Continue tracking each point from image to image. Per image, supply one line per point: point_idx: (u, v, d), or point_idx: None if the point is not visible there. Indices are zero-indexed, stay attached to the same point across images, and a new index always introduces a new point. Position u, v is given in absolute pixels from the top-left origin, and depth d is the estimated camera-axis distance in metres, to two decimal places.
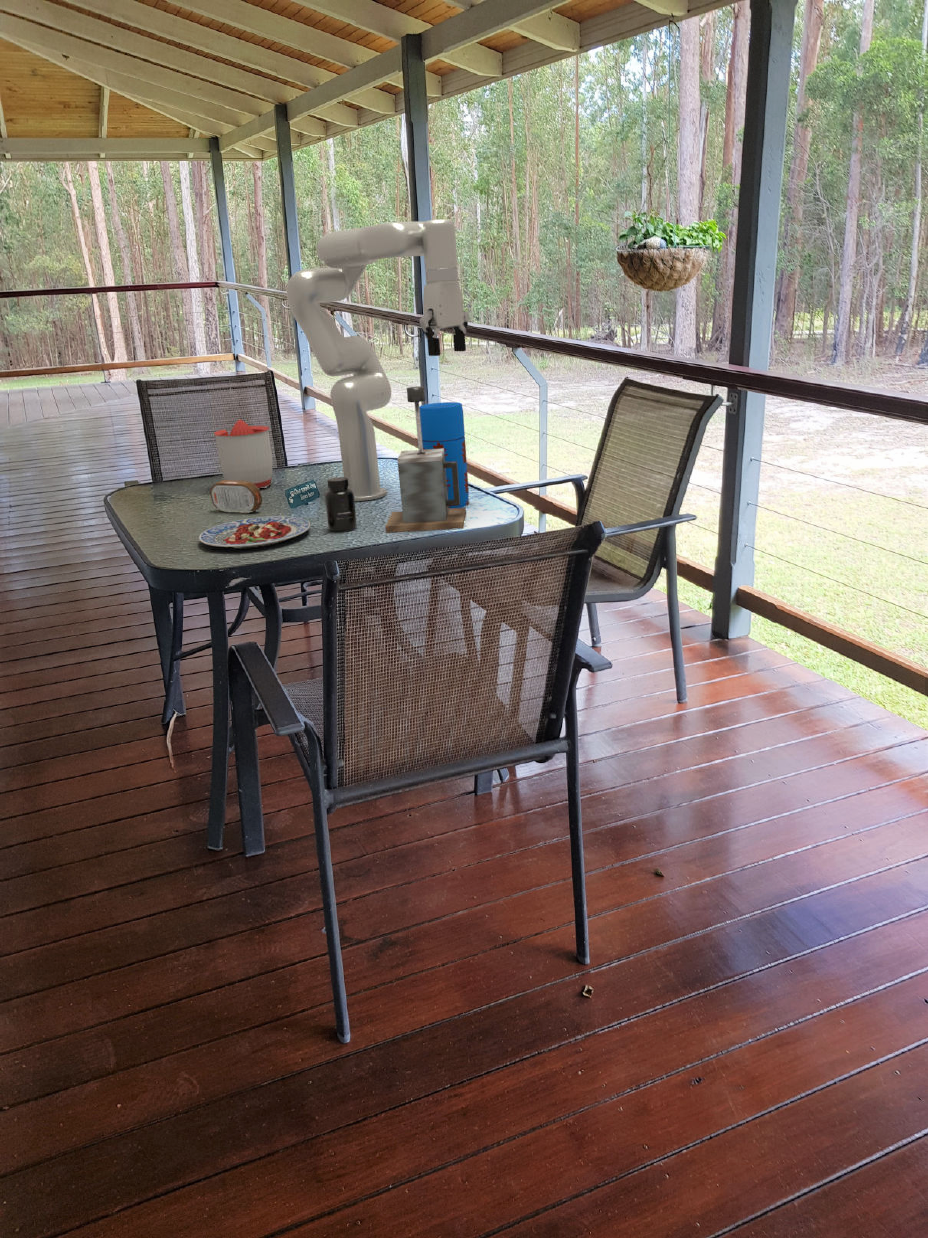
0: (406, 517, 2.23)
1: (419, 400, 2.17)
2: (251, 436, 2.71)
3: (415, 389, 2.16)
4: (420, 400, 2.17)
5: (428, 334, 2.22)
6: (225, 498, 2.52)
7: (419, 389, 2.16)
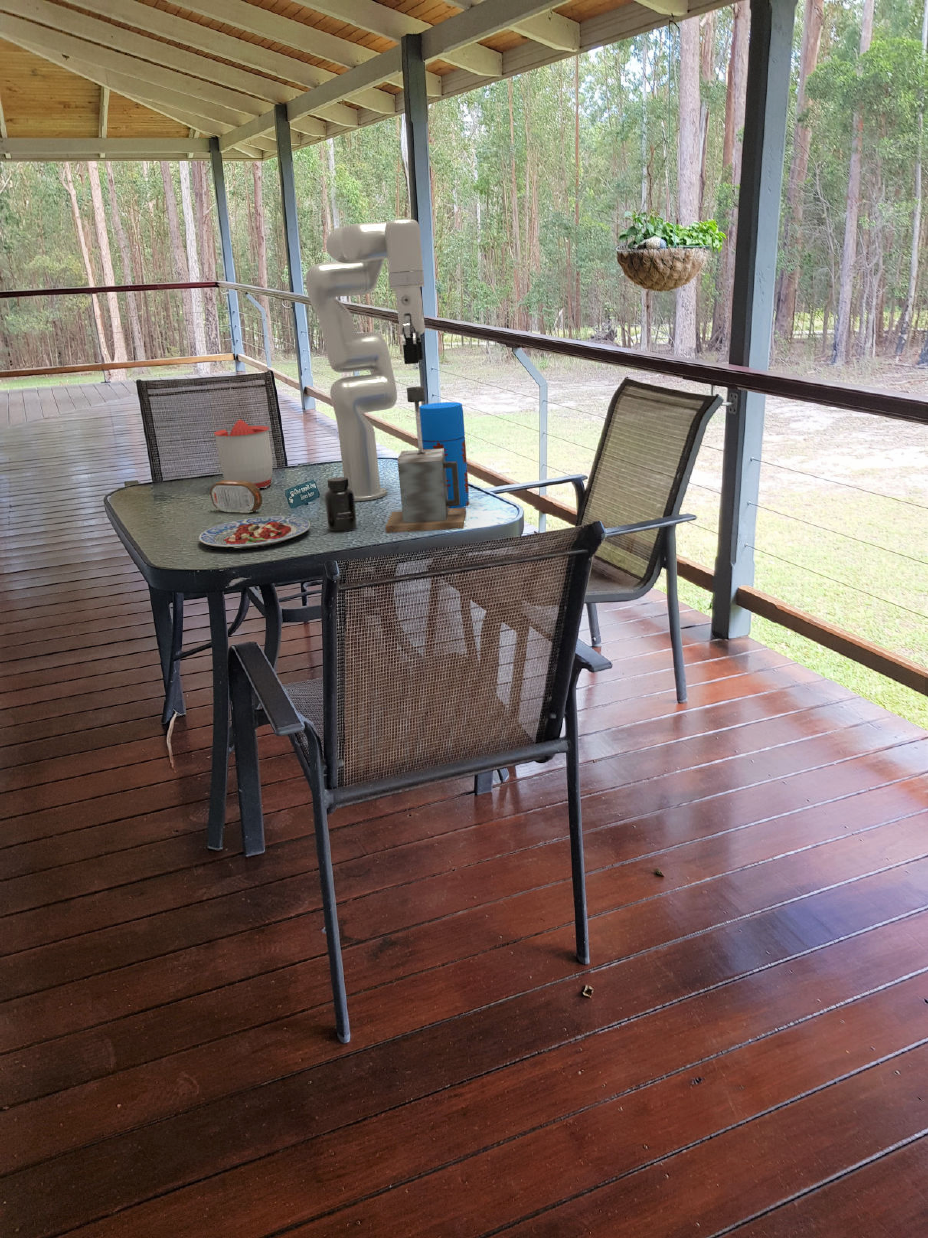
0: (406, 517, 2.23)
1: (419, 400, 2.17)
2: (251, 436, 2.71)
3: (415, 389, 2.16)
4: (420, 400, 2.17)
5: None
6: (225, 498, 2.52)
7: (419, 389, 2.16)
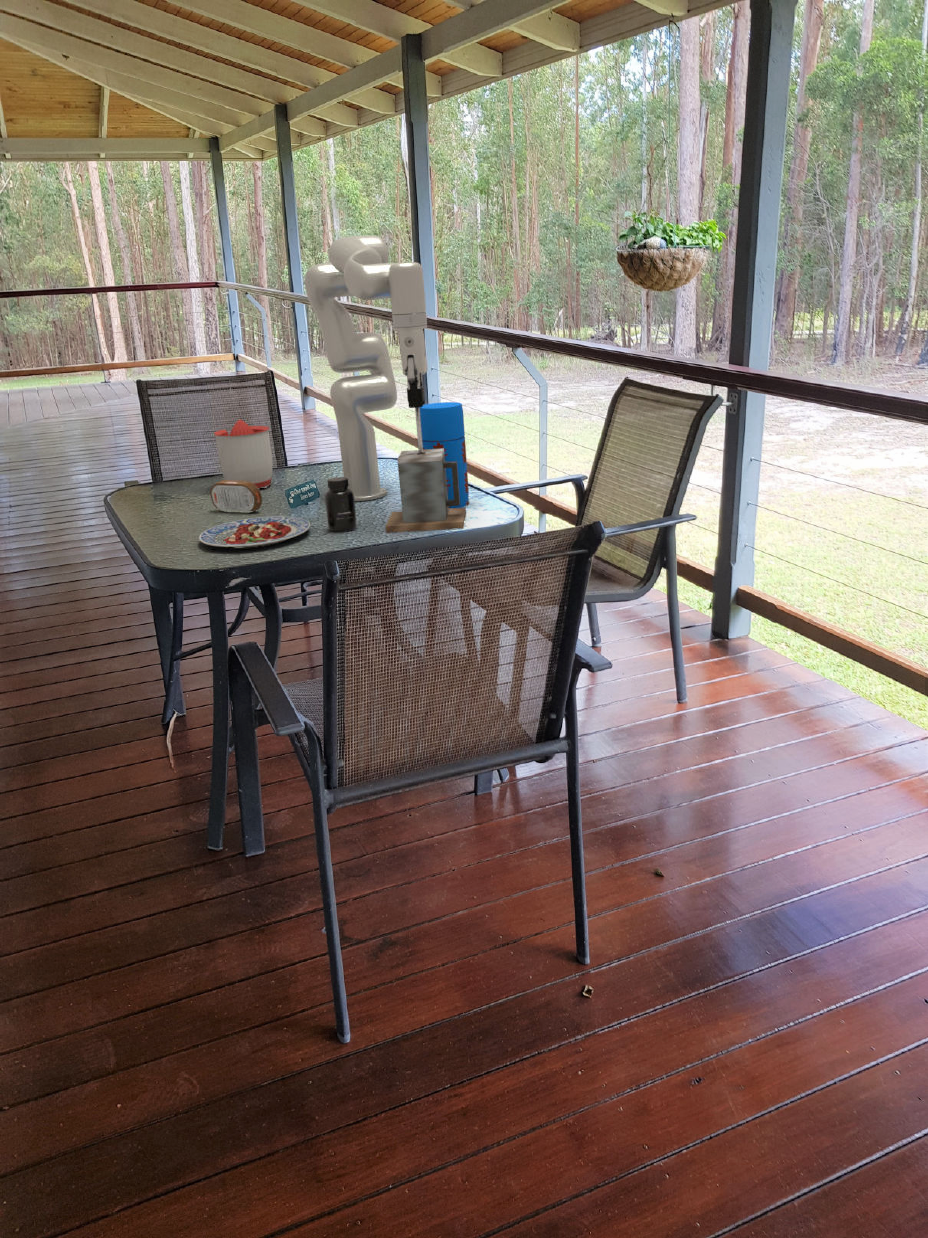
0: (406, 517, 2.23)
1: None
2: (251, 436, 2.71)
3: None
4: None
5: None
6: (225, 498, 2.52)
7: None
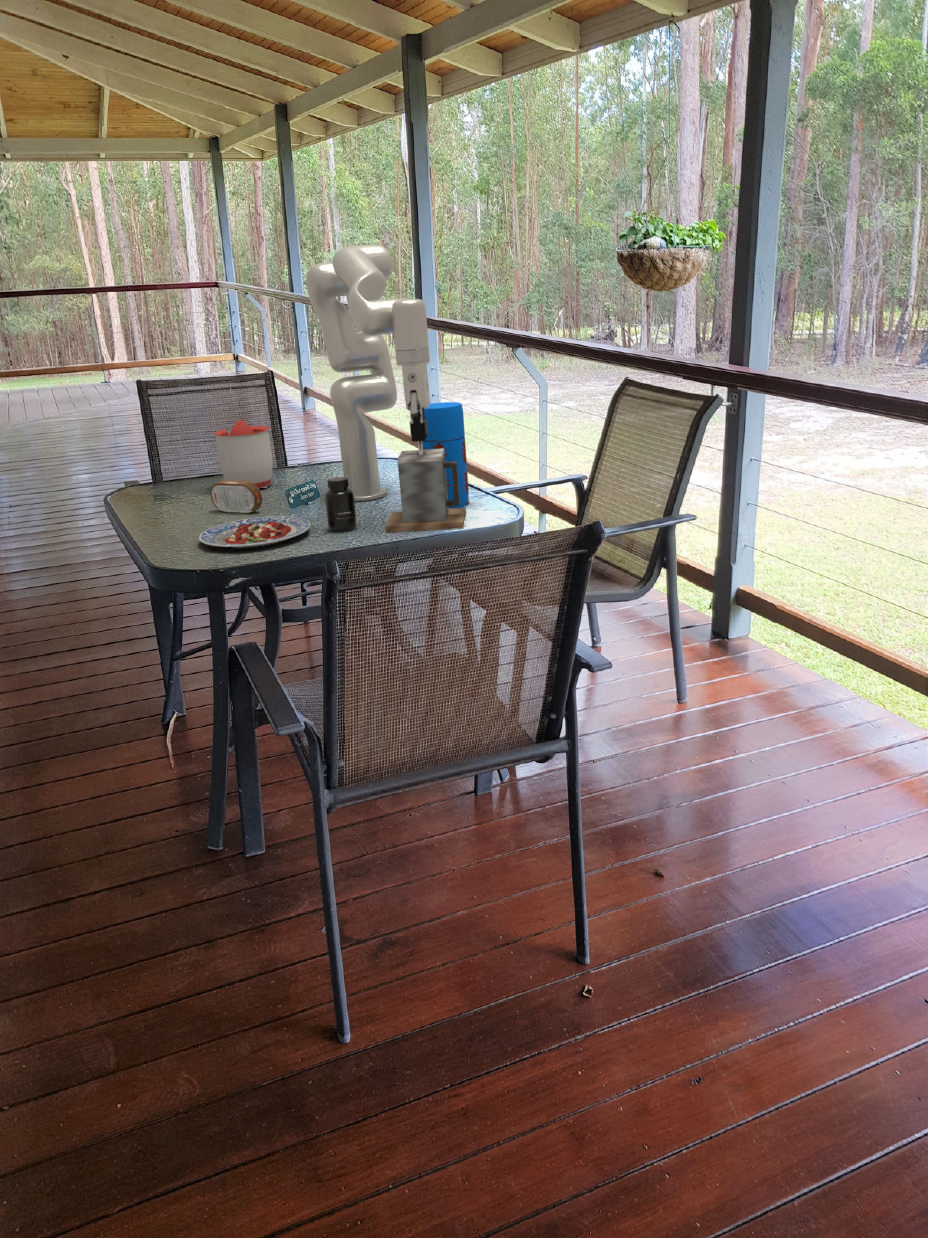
0: (406, 517, 2.23)
1: None
2: (251, 436, 2.71)
3: None
4: None
5: None
6: (225, 498, 2.52)
7: None
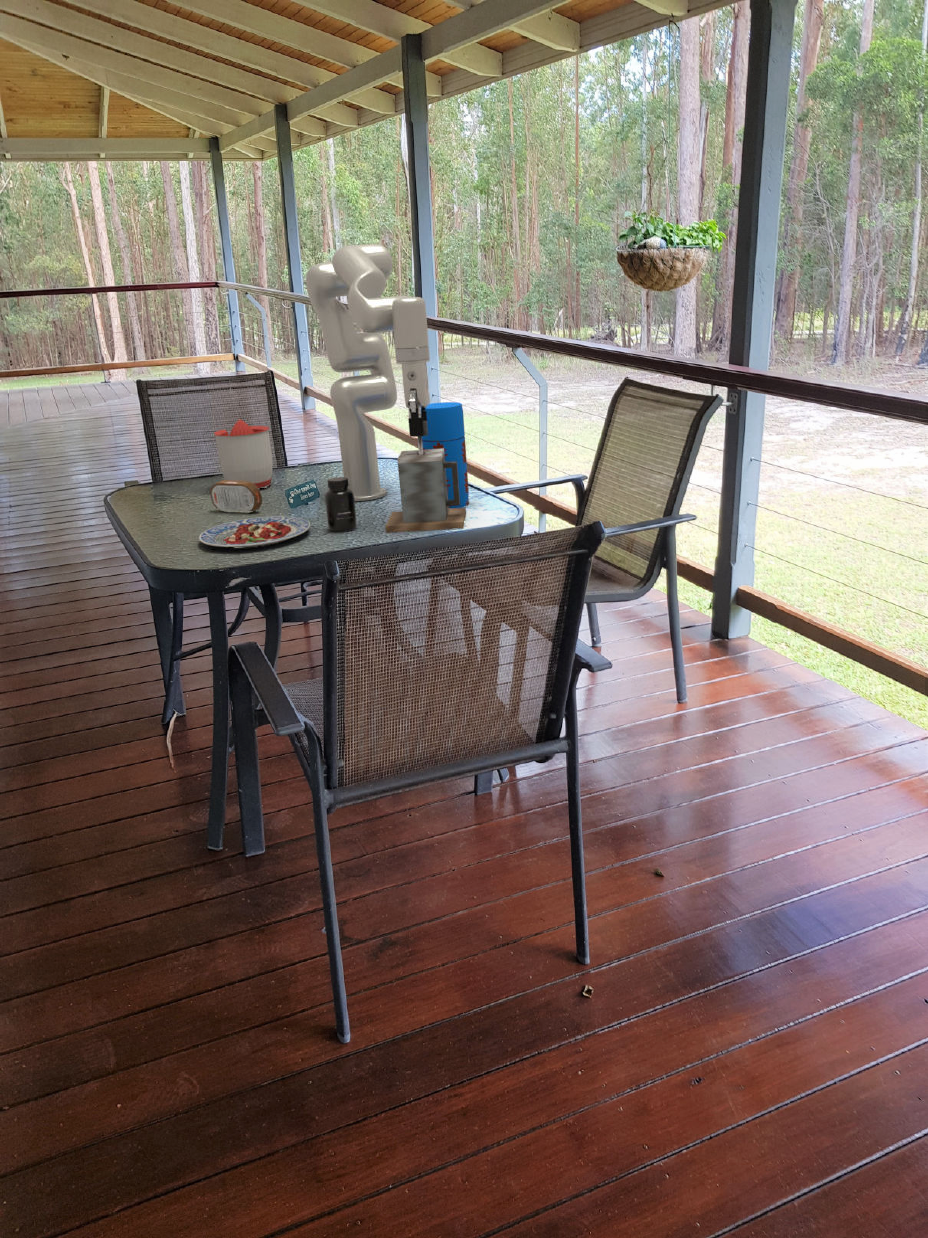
0: (406, 517, 2.23)
1: None
2: (251, 436, 2.71)
3: None
4: None
5: None
6: (225, 498, 2.52)
7: None
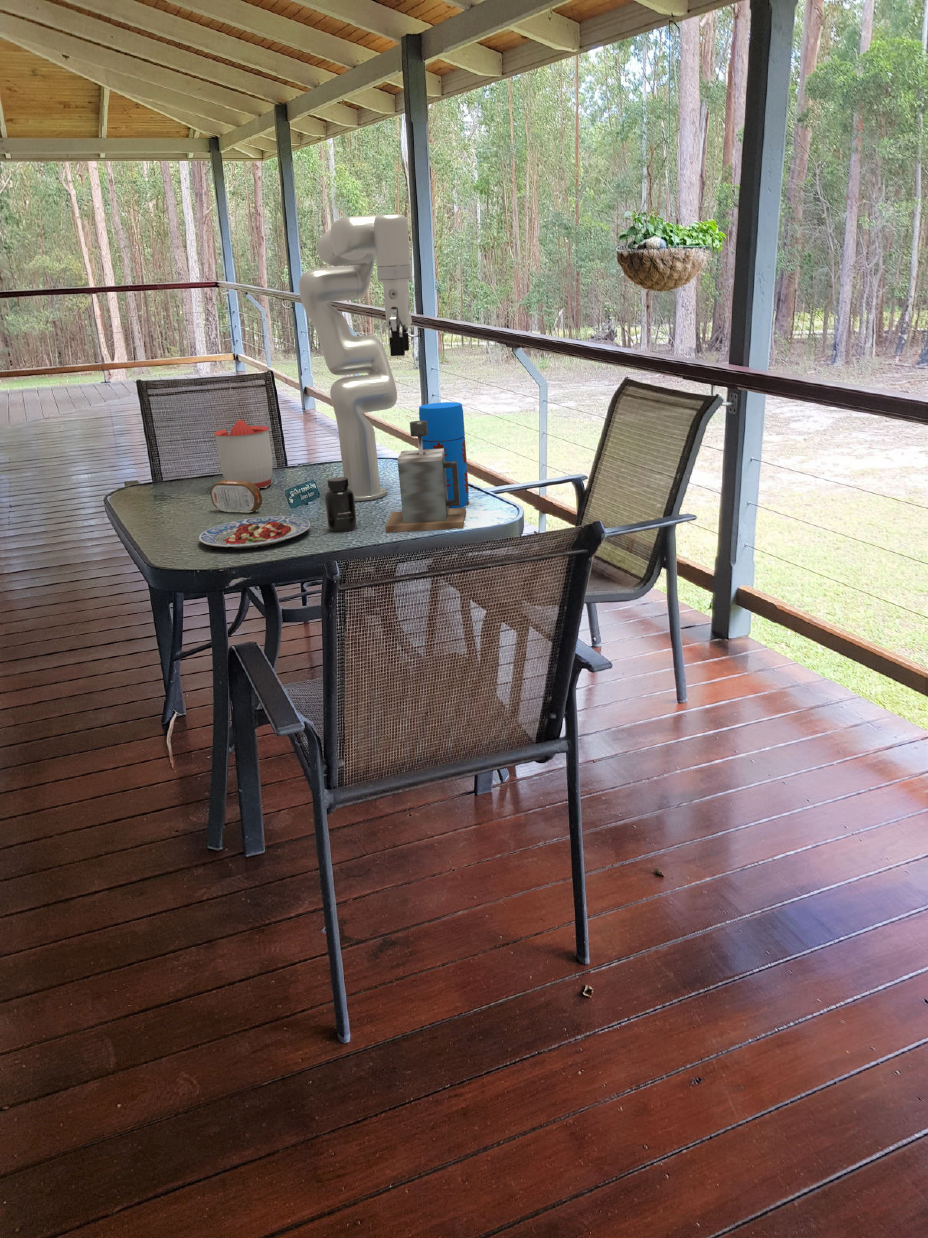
0: (406, 517, 2.23)
1: (422, 434, 2.20)
2: (251, 436, 2.71)
3: (418, 424, 2.19)
4: (423, 434, 2.20)
5: None
6: (225, 498, 2.52)
7: (422, 424, 2.19)
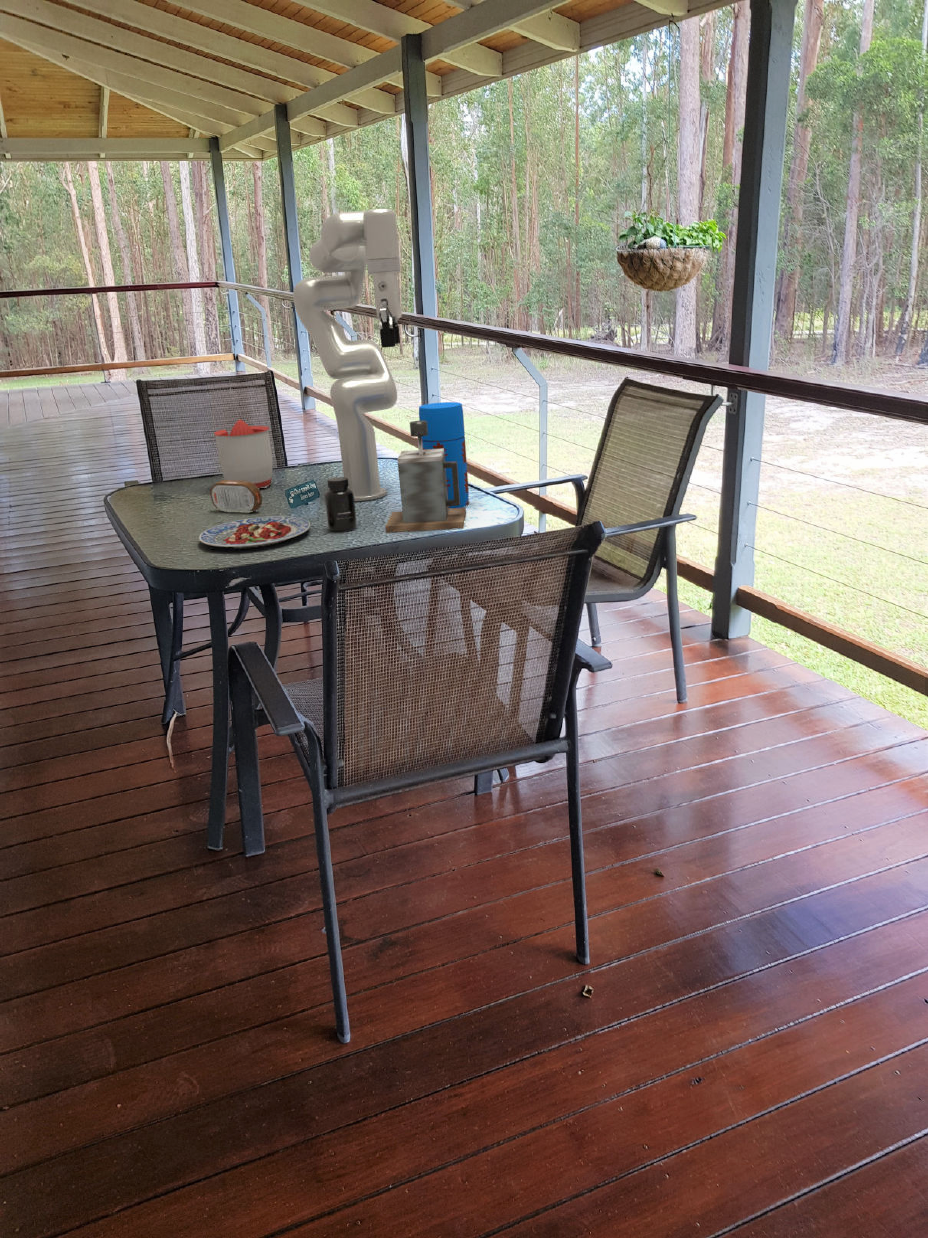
0: (406, 517, 2.23)
1: (422, 434, 2.20)
2: (251, 436, 2.71)
3: (418, 424, 2.19)
4: (423, 434, 2.20)
5: None
6: (225, 498, 2.52)
7: (422, 424, 2.19)
